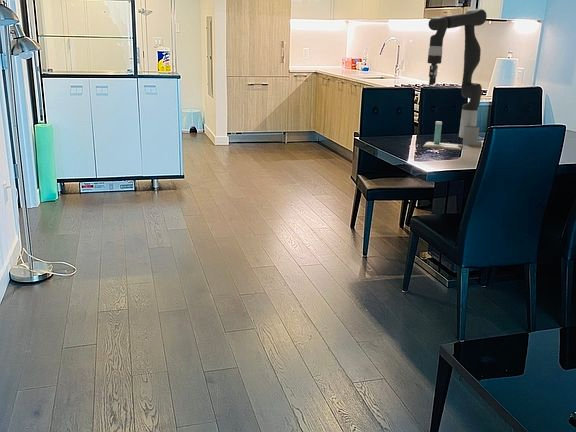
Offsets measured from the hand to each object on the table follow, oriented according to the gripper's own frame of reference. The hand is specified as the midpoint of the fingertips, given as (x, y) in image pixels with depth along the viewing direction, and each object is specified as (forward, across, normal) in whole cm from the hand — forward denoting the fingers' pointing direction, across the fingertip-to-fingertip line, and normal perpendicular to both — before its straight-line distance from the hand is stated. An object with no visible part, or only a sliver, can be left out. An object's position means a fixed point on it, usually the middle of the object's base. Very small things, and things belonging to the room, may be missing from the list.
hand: (432, 84), depth 320 cm
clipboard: (+33, +11, +11) cm, 37 cm away
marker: (+32, +9, +7) cm, 34 cm away
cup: (+33, -7, +24) cm, 42 cm away
